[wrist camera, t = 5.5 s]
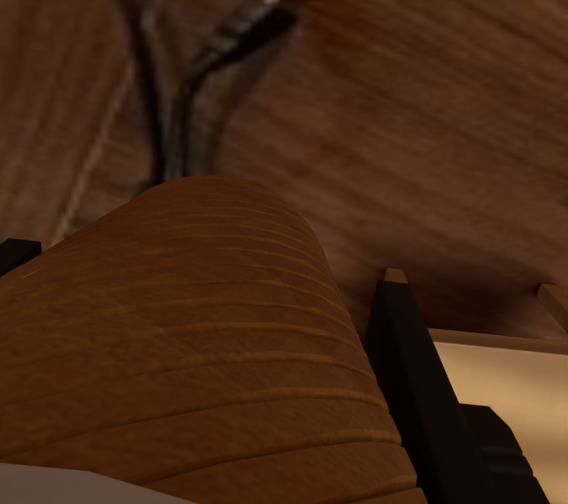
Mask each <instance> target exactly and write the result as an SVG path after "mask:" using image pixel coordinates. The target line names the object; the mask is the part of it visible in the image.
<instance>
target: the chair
mask: <svg viewBox="0 0 568 504" xmlns="http://www.w3.org/2000/svg"><path fill="white" fill-rule="evenodd" d="M384 281H391V282H399V283H408V281H407V279H406V277H405V274H404V272H403V270H402V269H395V268H387V269H386V274H385V279H384ZM536 297H537V299H538V300H539V301H540V302H541V303H542V304H543V305H544V307H545V308H546V309H547V310H548V311H549V312H550V313H551V315H552V316H553V317H554V318H555V319H556V320H557V321H558V323H559V324H560V325H561V326H562V327H563V328H564V329H565V331H566V332H567V333H568V296H567V295H566V294H565V293H564V292H563V291H562V290H561V289H560V288H559V287H558V286H557V285H552V284H542V283H541V285H540V288H539V290H538V293H537V296H536ZM428 331H429V333H430V335H431V338H432V340H433V342H434V345H435V347H436V349H437V352H438V354H439V357H440V359H441V361H442V364H443V366H444V368H445V371H446V373H447V375H448V378H449V380H450V383H451V385H452V387H453V390H454V392H455V394H456V397H457V399H458V401H459V403H463V404H472V405H482V406H489V407H490V408H491V409H492V410H493V411H494V412H495V413H496V414H497V415H498V416H499V417H500V418H501V419H502V420H503V421H504V422H505V423H506V424H507V425H508V426H509V427H510V428H511V430H512V432H513V434H514V436H515V438H516V440H517V441H518V443H519V445H520V447H521V449H522V451H523V452H522V454H523V456H525V457H526V459H527V461H528V462H529V464H530V466H531V468H532V470H533V476H534V477H536V478H537V480H538V481H539V483H540V485H541V487H542V489H543V491H544V493H545V495H546V497H547V499H548V501H549V502H550V504H568V342H560V341H550V340H540V339H531V338H521V337H511V336H501V335H491V334H481V333H471V332H462V331H452V330H442V329H432V328H428Z"/></svg>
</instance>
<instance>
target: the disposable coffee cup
mask: <svg viewBox="0 0 568 504" xmlns="http://www.w3.org/2000/svg"><path fill="white" fill-rule="evenodd" d="M401 443H402V441H401V436H400V434H399V431H398V429H397V427H396V425H395V423H394V421H393V418H392V416H391V415H390V414H389V409H388V405H387V403H386V400H385V398H384V396H383V394H382V392H381V390H380V387H379V386H378V384H377V380H376V376H375V374H374V372H373V370H372V368H371V366H370V364H369V361H368V357H367V355H366V353H365V350H364V348H363V346H362V344H361V342H360V339H359V336H358V333H357V331H356V329H355V327H354V325H353V323H352V320H351V317H350V314H349V312H348V310H347V308H346V306H345V303H344V300H343V298H342V296H341V294H340V291H339V288H338V286H337V284H336V282H335V280H334V277H333V274H332V272H331V270H330V267H329V264H328V262H327V260H326V258H325V255H324V252H323V249H322V247H321V244H320V242H319V240H318V238H317V237H316V235H315V233H314V232H313V230H312V229H311V227H310V225H309V224H308V223H307V222H306V221H305V220H304V219H303V217H302V216H301V215H300V214H299V213H298V212H297V211H296V210H295V209H294V208H293V207H292V206H291V205H289V204H288V203H286V202H285V201H284V200H282V199H281V198H279V197H278V196H277V195H275V194H274V193H272V192H270V191H268V190H266V189H264V188H261V187H259V186H257V185H255V184H253V183H251V182H247V181H242V180H238V179H233V178H229V177H224V176H216V175H196V176H190V177H184V178H178V179H172V180H169V181H167V182H164V183H162V184H159V185H157V186H154V187H152V188H149V189H148V190H146V191H145V192H143V193H141V194H140V195H138V196H137V197H135V198H134V199H132V200H131V201H129V202H128V203H126V204H124V205H122V206H120V207H119V208H117V209H115V210H114V211H112V212H110V213H109V214H107V215H105V216H103V217H102V218H100V219H99V220H97V221H95V222H93V223H92V224H90V225H88V226H87V227H85V228H83V229H81V230H79V231H77V232H75V233H74V234H72V235H70V236H69V237H67V238H66V239H64V240H62V241H61V242H59V243H58V244H56V245H54V246H53V247H51V248H50V249H48V250H46V251H45V252H43V253H41V254H40V255H38V256H36V257H35V258H33V259H31V260H30V261H28V262H27V263H25V264H23V265H21V266H19V267H17V268H15V269H13V270H11V271H9V272H8V273H6V274H5V275H3V276H1V277H0V504H428V502H427V499H426V497H425V495H424V493H423V490H422V488H419V487H416V480H417V474H416V472H415V470H414V467H413V465H412V463H411V461H410V459H409V456H408V454H407V452H406V450H405V448H403V447H401V446H400V445H401Z"/></svg>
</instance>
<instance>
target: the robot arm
mask: <svg viewBox="0 0 568 504" xmlns="http://www.w3.org/2000/svg"><path fill="white" fill-rule="evenodd" d="M41 253H42V249H41V242H38V241H29V240H20V239H12V238H9V239H7V240H6V241H5V242H3V243H2V244H0V277H1V276H3V275H5V274H6V273H8V272H9V271H11V270H13V269H15V268H17V267H19V266H21V265H23V264H25V263H27V262H28V261H30V260H31V259H33V258H35V257H36V256H38V255H40V254H41ZM363 348H364V350H365V353H366V355H367V357H368V361H369V364H370V366H371V368H372V370H373V372H374V374H375V376H376V380H377V384H378V386H379V387H380V390H381V392H382V394H383V396H384V398H385V400H386V403H387V405H388V409H389V414H390V415H391V416H392V418H393V421H394V423H395V425H396V427H397V429H398V431H399V434H400V436H401V441H402V443H401V445H400V446H401V447H403V448H405V450H406V452H407V454H408V456H409V459H410V461H411V463H412V465H413V467H414V470H415V472H416V474H417V480H416V487H419V488H422V490H423V493H424V495H425V497H426V499H427V502H428V504H550V502H549V501H548V499H547V497H546V495H545V493H544V491H543V489H542V487H541V485H540V483H539V481H538V480H537V478H536V477H534V476H533V470H532V468H531V466H530V464H529V462H528V461H527V459H526V457H525V456H523V454H522V452H523V451H522V449H521V447H520V445H519V443H518V441H517V440H516V438H515V436H514V434H513V432H512V430H511V428H510V427H509V426H508V425H507V424H506V423H505V422H504V421H503V420H502V419H501V418H500V417H499V416H498V415H497V414H496V413H495V412H494V411H493V410H492V409H491V408H490V407H489V406H482V405H472V404H463V403H459V401H458V399H457V397H456V394H455V392H454V390H453V387H452V385H451V383H450V380H449V378H448V375H447V373H446V371H445V368H444V366H443V364H442V361H441V359H440V357H439V354H438V352H437V349H436V347H435V345H434V342H433V340H432V338H431V335H430V333H429V331H428V328H427V326H426V324H425V321H424V319H423V316H422V314H421V312H420V309H419V307H418V305H417V302H416V300H415V298H414V295H413V293H412V290H411V288H410V286H409V284H408V283H399V282H391V281H382V280H378V282H377V286H376V291H375V295H374V300H373V305H372V309H371V314H370V318H369V323H368V327H367V332H366V336H365V341H364V345H363Z"/></svg>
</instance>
